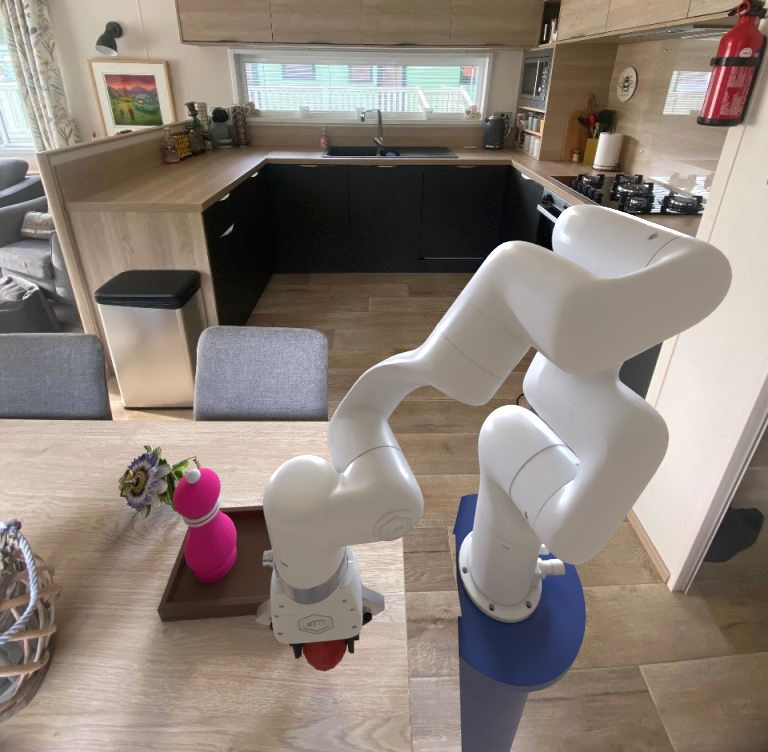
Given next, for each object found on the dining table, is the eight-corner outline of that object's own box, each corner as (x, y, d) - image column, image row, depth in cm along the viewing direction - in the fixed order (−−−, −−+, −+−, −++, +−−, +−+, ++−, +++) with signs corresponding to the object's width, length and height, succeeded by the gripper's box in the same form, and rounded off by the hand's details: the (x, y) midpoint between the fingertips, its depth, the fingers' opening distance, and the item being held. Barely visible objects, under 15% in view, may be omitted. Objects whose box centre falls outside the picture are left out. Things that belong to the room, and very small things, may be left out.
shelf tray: (323, 512, 68) (323, 501, 67) (316, 610, 56) (315, 598, 55) (198, 520, 67) (194, 509, 66) (161, 622, 54) (156, 610, 53)
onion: (298, 678, 49) (291, 646, 45) (312, 619, 54) (306, 586, 51) (344, 687, 48) (339, 655, 45) (353, 626, 53) (350, 593, 50)
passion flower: (147, 529, 71) (97, 488, 68) (193, 471, 79) (150, 432, 76) (171, 536, 64) (116, 491, 61) (218, 472, 72) (172, 429, 69)
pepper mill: (230, 587, 57) (207, 498, 50) (181, 588, 57) (150, 498, 50) (246, 534, 64) (228, 448, 56) (202, 534, 64) (178, 448, 56)
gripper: (221, 607, 39) (250, 689, 46) (393, 592, 39) (395, 675, 47) (241, 526, 46) (264, 609, 53) (388, 515, 46) (390, 597, 54)
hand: (325, 639), depth 50 cm, fingers closed on onion, 5 cm apart
